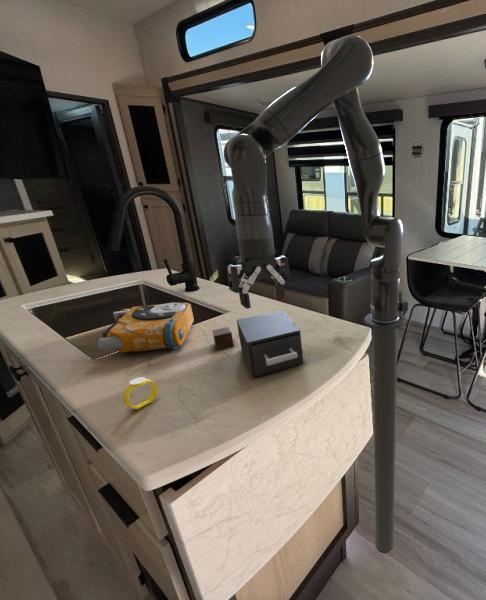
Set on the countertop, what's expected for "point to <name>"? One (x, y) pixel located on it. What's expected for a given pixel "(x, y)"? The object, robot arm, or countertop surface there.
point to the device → (148, 328)
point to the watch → (137, 383)
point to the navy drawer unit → (264, 333)
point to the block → (223, 338)
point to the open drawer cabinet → (276, 354)
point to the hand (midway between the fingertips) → (264, 302)
